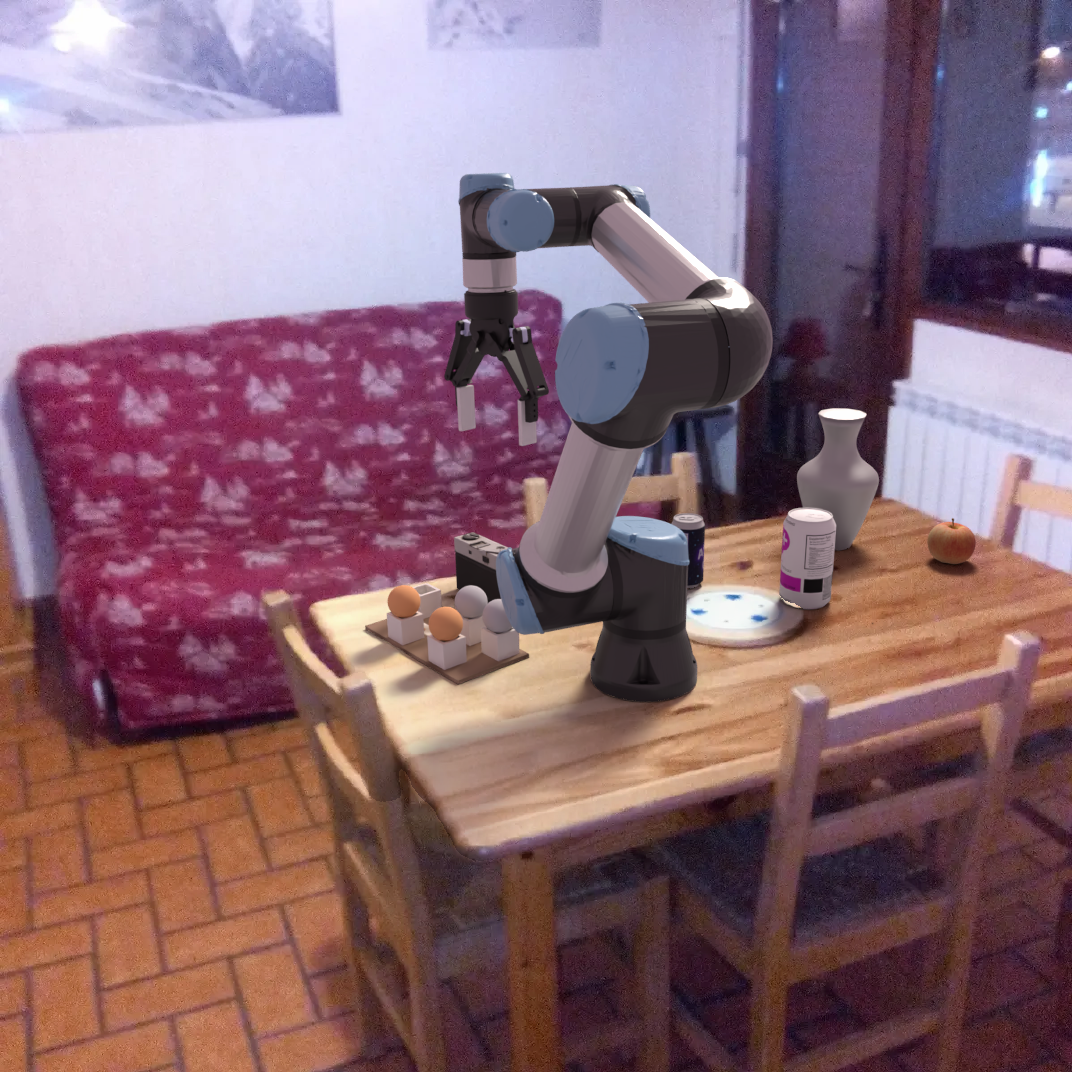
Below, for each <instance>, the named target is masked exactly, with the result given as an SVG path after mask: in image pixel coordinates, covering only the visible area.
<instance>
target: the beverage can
mask: <svg viewBox="0 0 1072 1072" xmlns="http://www.w3.org/2000/svg"><path fill="white" fill-rule="evenodd" d="M670 524H672V525H674V526H676V527H678V528H679V529H680V530H681V531H682V532H683V533H684V534H685V536H686V538H687V542H688V557H689V565H688V580H687V588H690V589H694V587H695V588H697V587H699V585H700V584H702V583H703V581H704V571H705V570H704V567H705V566H704V564H705V539H706V538H705V537H706V536H705V534H706V533H705V532H706V525H705V522H704V518H703V516H702V515H700V514H698V513H697V514H696V513H690V512H687V513H686V512H685V513H682V512H681V513H677V514H675V515H674V516H673V519H672V522H671V523H670Z"/></svg>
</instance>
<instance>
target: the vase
mask: <svg viewBox="0 0 1072 1072" xmlns="http://www.w3.org/2000/svg"><path fill="white" fill-rule="evenodd" d="M817 415H818V417H819V419H820V423H821V425H822V428H823V429H822V430H823V434H824V442H823V443H824V444H823V446H822V449H821V450H820V452H818V454H817V455H816V456H815V457H814V458H812V459H810V460H808V461H807V462H805V464H803V465H802V466H801V467H799V470H798V471H797V474H796V481H797V482H796V483H797V488H798V492H799V497H800V500H801V506H802V508H817V509H822V510H826V511H828V512H830V513H832V515H833V519H834V521H835V523H836V536H835V549H834V551H843V550H848V549H850V547H851V546H852V544H853V543H854V541H855V539H856V538H857V536H858V534H859V533H860V530H861V528H862V526H863V524H864V521H865V520H866V517H867V515H868V512H869V511H870V508H871V506H872V504H873V501H874V498H875V496H876V493H877V490H878V488H879V487H878V486H879V484H880V483H879V482H880V479H879V474H878V472H877V470H876V469H874V467H873V466H871V465H870V464H869V463H867V462H866V461H865V460H864V459H863V458H862V457H861V455H860V452H859V450H858V446H857V440H858V439H857V438H858V436H859V433H860V430H861V428H862V426H863V423H864V421H865V418H866V417H867V413H866V412H865V411H862V410H858V409H852V408H839V407H838V408H835V407H834V408H827V409H822V410H820V411H819V412H818V414H817ZM847 548H848V549H847Z"/></svg>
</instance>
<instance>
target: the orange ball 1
mask: <svg viewBox="0 0 1072 1072" xmlns="http://www.w3.org/2000/svg"><path fill="white" fill-rule="evenodd" d="M413 587H414V586H411V585H407V584H402V585H398V586H396V587H394V588H393V589H392V590H391V591H390V592H389V594H388V596H387V607H388V609H389V612H392V613H393V614H394V615H395V616H397V617H400V618H407V617H411V616H413V615H414V614H415V613H416V612H417V611H418V609H419V607H420V603H421V600H420V596H419V593H418V592H417V591H416V590H415V589H414V588H413Z"/></svg>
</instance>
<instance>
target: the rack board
mask: <svg viewBox="0 0 1072 1072" xmlns="http://www.w3.org/2000/svg"><path fill="white" fill-rule="evenodd" d="M429 618H430V617H428V618H425V619H423V621H424V638H423V639H420V640H417V641H414V642H411V643H408V644H405V645H401V644H399V643H398V642H396V641H394V640H393V639H391V638H389V637H388V625H387V618H385V619H381V620H379V621H376V622H373V623H369V624H367V625H365V626H364V627H365V629H364V630H366V631H368V632H370V633H371V634H372V635H374V636H376V637H378V639H381V640H383V641H385V642H386V643H388V644H389V645H391V646H392V647H394V648H396V649H397V650H400V651H401V652H403V653H405V654H406V655H408V656H410V657H411V658H412V659H414V660H416V661H418V662H420V663H422V664H423V665H425V666H426V667H428V668H430V669H431V670H433V671H434V672H437V673H438V674H440V675H441V676H443V677H444V678H446V679H448V680H450V681H451V682H454V684H457V685H460V684H463V683H465V682H467V681H471V680H472V679H476V678H479V677H481V676H484V675H486V674H489V673H491V672H494V671H497V670H500V669H501V668H504V667H507V666H511V665H512V664H515V663H517V662H520V661H523V660H526V659H529V658H530V653H529V652H527V651H525V650H523V649H521V648H519V652H520V653H519V654H517V655H514V656H511V657H509V658H506V659H503V660H501V661H497V660H495V659H493V658H491V657H489V656H487V655H486V654H484V653H482V645H481V642H479V643H477V644H474V645H471V646H469V645H467V644H466V655H467V662H465V663H462V664H459V665H457V666H454V667H451V668H448V669H446V670H444V669H442V668H440V667H439V666H437V665H435V664H433V663H432V662H430V661H429V656H428V639H427V636H429V635H432V634H431V632H430V630H429Z"/></svg>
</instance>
